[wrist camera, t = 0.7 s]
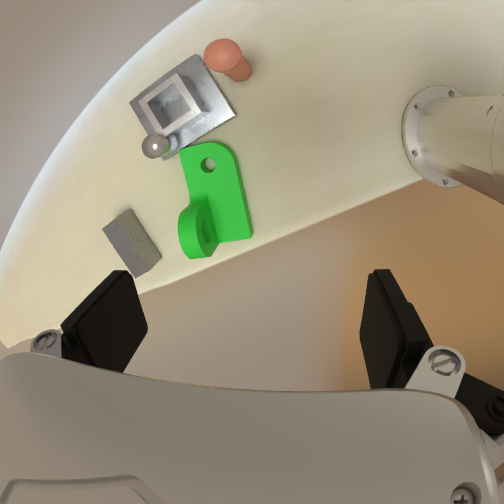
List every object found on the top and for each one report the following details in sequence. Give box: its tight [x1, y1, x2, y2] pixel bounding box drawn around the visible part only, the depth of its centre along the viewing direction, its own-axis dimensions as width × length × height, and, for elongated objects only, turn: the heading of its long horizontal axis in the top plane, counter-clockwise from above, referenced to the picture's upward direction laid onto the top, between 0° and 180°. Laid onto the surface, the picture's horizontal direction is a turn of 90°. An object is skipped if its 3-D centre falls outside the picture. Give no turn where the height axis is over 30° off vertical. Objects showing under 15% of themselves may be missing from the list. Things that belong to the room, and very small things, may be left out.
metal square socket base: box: [129, 54, 237, 161], centre depth 28 cm, size 10×9×5 cm
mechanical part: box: [178, 142, 253, 259], centre depth 31 cm, size 12×6×8 cm, turn 12°
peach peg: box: [204, 39, 251, 82], centre depth 24 cm, size 3×3×9 cm
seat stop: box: [102, 209, 162, 278], centre depth 37 cm, size 3×8×4 cm, turn 30°
